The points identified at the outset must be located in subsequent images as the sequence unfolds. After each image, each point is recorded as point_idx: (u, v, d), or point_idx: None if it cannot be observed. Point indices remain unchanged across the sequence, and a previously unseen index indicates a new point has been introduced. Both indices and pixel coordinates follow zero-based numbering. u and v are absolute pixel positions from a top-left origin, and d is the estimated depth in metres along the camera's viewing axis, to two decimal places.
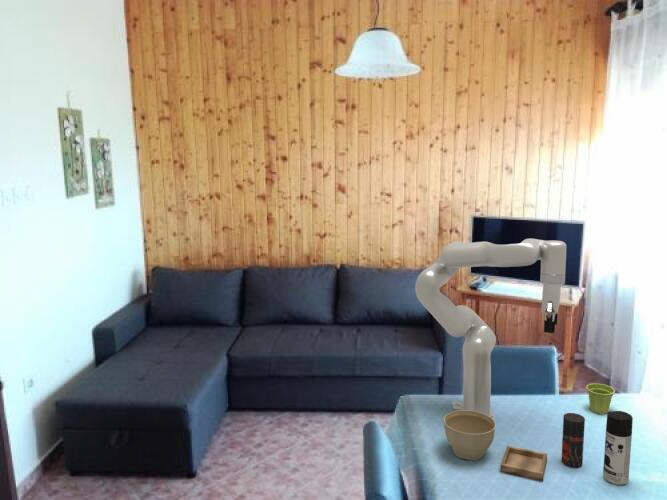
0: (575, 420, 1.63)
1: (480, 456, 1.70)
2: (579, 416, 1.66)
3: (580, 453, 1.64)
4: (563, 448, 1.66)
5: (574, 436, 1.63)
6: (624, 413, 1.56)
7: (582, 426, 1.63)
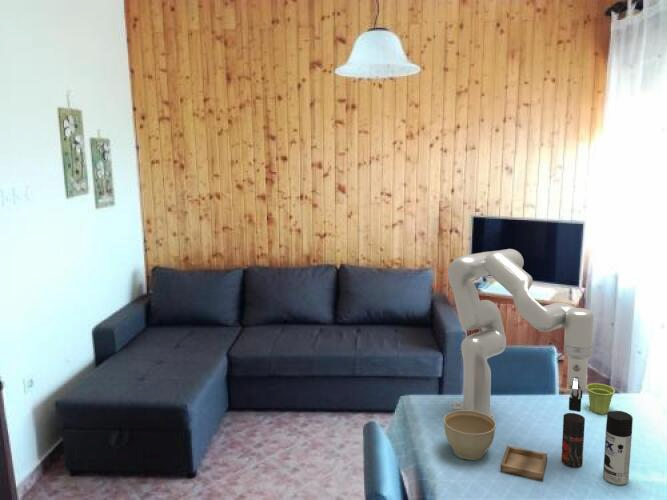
0: (575, 420, 1.63)
1: (480, 456, 1.70)
2: (579, 416, 1.66)
3: (580, 453, 1.64)
4: (563, 448, 1.66)
5: (574, 436, 1.63)
6: (624, 413, 1.56)
7: (582, 426, 1.63)
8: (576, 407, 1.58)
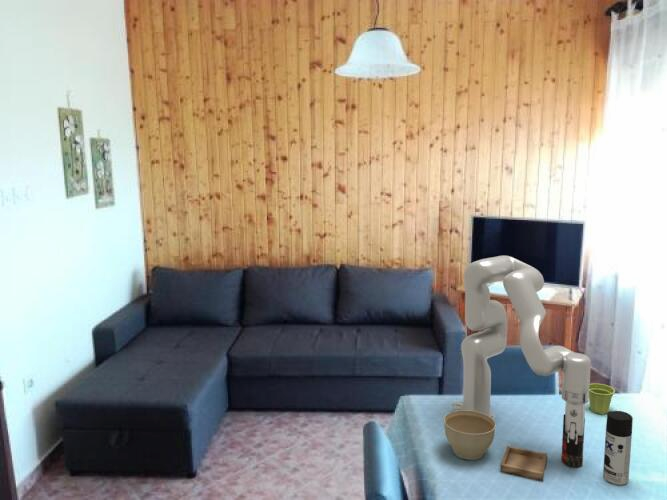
0: None
1: (480, 456, 1.70)
2: None
3: (580, 453, 1.64)
4: (563, 448, 1.66)
5: None
6: (624, 413, 1.56)
7: None
8: (573, 452, 1.62)
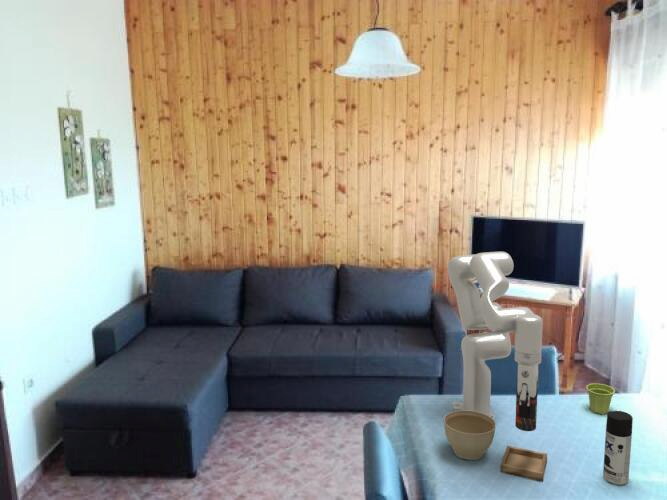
0: None
1: (480, 456, 1.70)
2: None
3: (533, 416, 1.60)
4: (516, 411, 1.63)
5: (527, 398, 1.59)
6: (624, 413, 1.56)
7: None
8: (525, 414, 1.59)
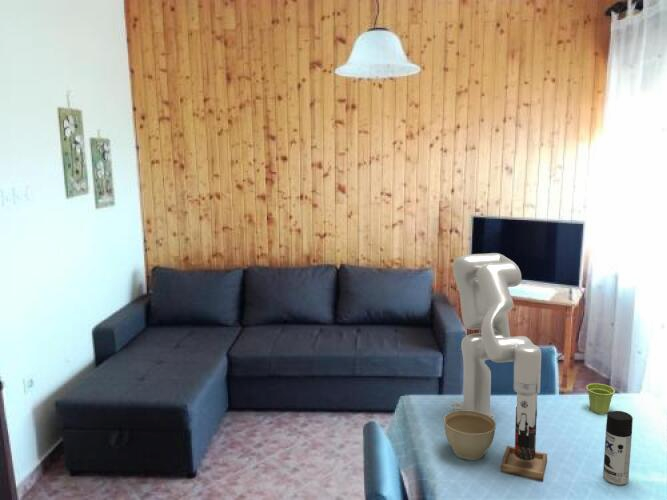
0: None
1: (480, 456, 1.70)
2: None
3: (532, 445, 1.62)
4: (516, 440, 1.64)
5: (526, 428, 1.61)
6: (624, 413, 1.56)
7: None
8: (524, 443, 1.60)
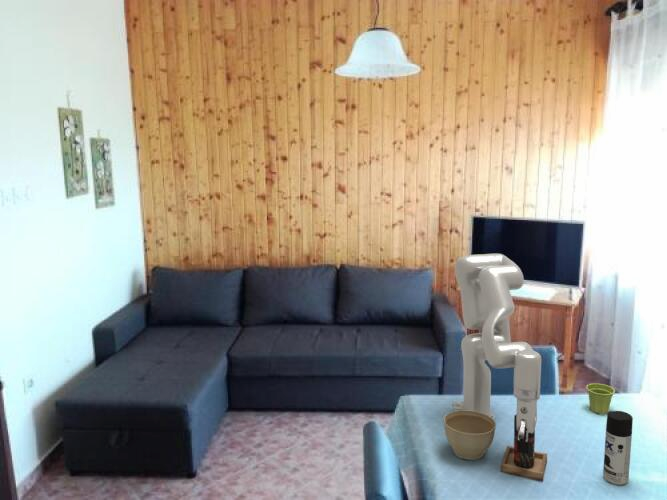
0: None
1: (480, 456, 1.70)
2: None
3: (531, 453, 1.63)
4: (514, 448, 1.65)
5: None
6: (624, 413, 1.56)
7: None
8: (524, 449, 1.60)
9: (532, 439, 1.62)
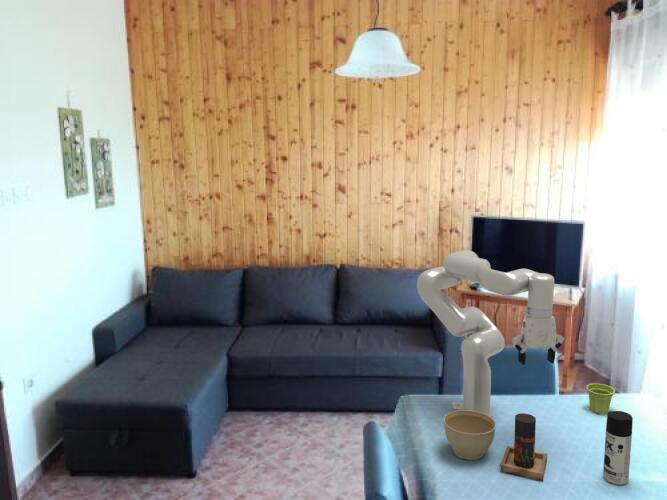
0: (526, 421, 1.62)
1: (480, 456, 1.70)
2: (530, 416, 1.64)
3: (531, 454, 1.63)
4: (515, 449, 1.65)
5: (525, 437, 1.62)
6: (624, 413, 1.56)
7: (533, 427, 1.61)
8: (519, 359, 1.75)
9: (532, 439, 1.62)
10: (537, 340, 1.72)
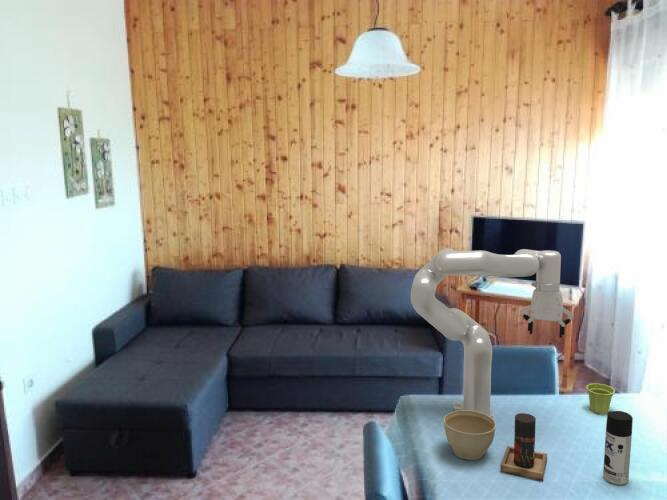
0: (525, 420, 1.62)
1: (480, 456, 1.70)
2: (530, 416, 1.64)
3: (531, 454, 1.63)
4: (515, 449, 1.65)
5: (524, 436, 1.62)
6: (624, 413, 1.56)
7: (532, 426, 1.61)
8: (528, 329, 1.90)
9: (532, 439, 1.62)
10: (541, 312, 1.85)
